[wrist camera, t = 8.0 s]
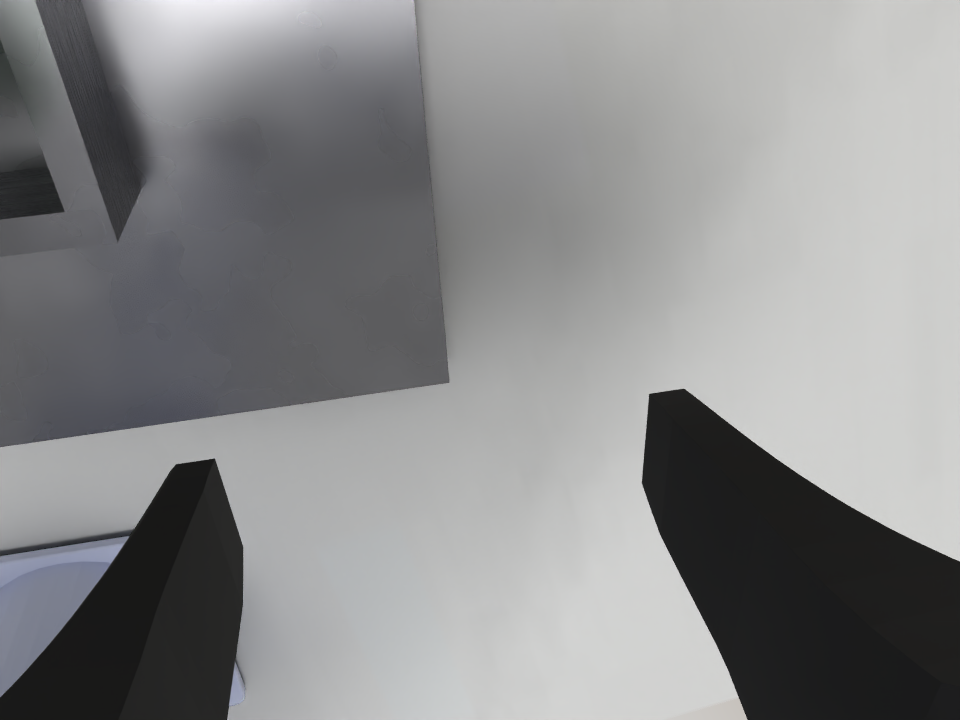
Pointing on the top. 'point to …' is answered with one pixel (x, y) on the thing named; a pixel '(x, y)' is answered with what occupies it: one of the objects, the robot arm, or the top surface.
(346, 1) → the post base
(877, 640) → the robot arm
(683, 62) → the top surface
